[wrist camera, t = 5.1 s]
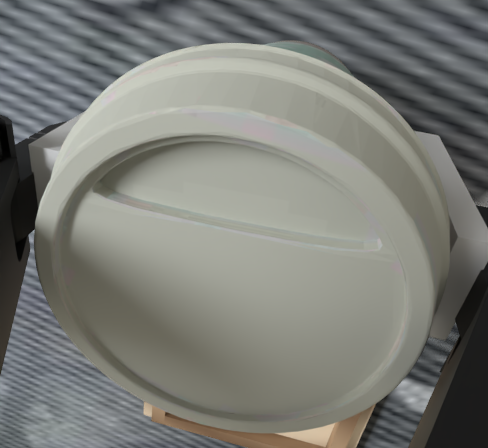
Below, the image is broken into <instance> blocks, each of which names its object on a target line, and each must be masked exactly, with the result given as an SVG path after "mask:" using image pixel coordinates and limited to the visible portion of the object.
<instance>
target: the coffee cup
mask: <svg viewBox="0 0 488 448" xmlns="http://www.w3.org/2000/svg"><path fill="white" fill-rule="evenodd" d="M34 251H35V260H36V267H37V271H38V276H39V280H40V283H41V286H42V289H43V292H44V294H45V297H46V299H47V301H48V304H49V306H50V308H51V310H52V312H53V313H54V315H55V317H56V319H57V320H58V322H59V324H60V326H61V327H62V328H63V330H64V331H65V333H66V334H67V335H68V337H69V338H70V339H71V341H72V342H73V343H74V345H75V346H76V347H77V348H78V349H79V350H80V351H81V353H82V354H83V355H84V356H85V357H86V358H87V359H88V360H89V361H90V362H91V363H92V364H93V365H94V366H96V367H97V368H98V369H99V370H100V371H101V372H102V373H104V374H105V375H106V376H107V377H108V378H109V379H111V380H112V381H114V382H115V383H116V384H118V385H119V386H121V387H122V388H124V389H125V390H127V391H128V392H129V393H131V394H133V395H135V396H136V397H138V398H140V399H141V400H143V401H145V402H147V403H149V404H151V405H153V406H155V407H157V408H159V409H161V410H163V411H165V412H168V413H170V414H173V415H175V416H178V417H180V418H183V419H186V420H190V421H193V422H196V423H199V424H202V425H207V426H211V427H216V428H220V429H225V430H232V431H240V432H248V433H286V432H298V431H304V430H309V429H314V428H319V427H324V426H327V425H330V424H333V423H337V422H340V421H342V420H345V419H347V418H350V417H352V416H354V415H356V414H358V413H360V412H362V411H364V410H366V409H368V408H369V407H371V406H373V405H374V404H376V403H377V402H379V401H380V400H381V399H383V398H384V397H385V396H386V395H388V394H389V393H390V392H391V391H392V390H394V389H395V388H396V387H397V386H398V385H399V384H400V383H401V381H402V380H403V379H404V378H405V377H406V376H407V375H408V374H409V373H410V371H411V370H412V368H413V367H414V365H415V363H416V362H417V360H418V359H419V357H420V355H421V354H422V352H423V350H424V347H425V345H426V342H427V340H428V337H429V335H430V330H431V326H432V322H433V318H434V316H435V314H436V312H437V310H438V307H439V305H440V302H441V300H442V297H443V294H444V291H445V287H446V283H447V278H448V272H449V265H450V222H449V212H448V206H447V201H446V196H445V193H444V189H443V186H442V183H441V180H440V177H439V174H438V172H437V170H436V167H435V165H434V163H433V161H432V159H431V157H430V155H429V153H428V152H427V150H426V148H425V147H424V145H423V144H422V142H421V140H420V139H419V138H418V136H417V135H416V133H415V132H414V131H413V129H412V128H411V127H410V126H409V124H408V123H407V122H406V121H405V120H404V119H403V117H402V116H401V115H400V114H399V113H398V112H397V111H396V110H395V109H394V108H393V107H392V106H391V105H390V104H389V103H387V102H386V101H385V100H384V99H383V98H382V97H381V96H379V95H378V94H377V93H376V92H374V91H373V90H372V89H370V88H369V87H368V86H366V85H365V84H363V83H362V82H360V81H359V80H357V79H356V78H354V76H353V75H352V74H351V73H350V71H349V70H348V69H347V67H346V66H345V65H344V64H343V63H342V62H341V61H340V60H339V59H338V58H337V57H336V56H334V55H333V54H332V53H330V52H329V51H327V50H325V49H323V48H321V47H319V46H317V45H314V44H311V43H307V42H302V41H279V42H274V43H269V44H265V45H258V44H246V43H219V44H208V45H200V46H194V47H189V48H185V49H180V50H177V51H173V52H170V53H167V54H164V55H161V56H159V57H156V58H154V59H151V60H149V61H147V62H145V63H143V64H141V65H139V66H137V67H135V68H134V69H132V70H130V71H129V72H127V73H126V74H124V75H123V76H121V77H120V78H119V79H117V80H116V81H115V82H113V83H112V84H111V85H110V86H109V87H108V88H106V89H105V90H104V91H103V92H102V93H101V94H100V95H99V96H98V97H97V98H96V99H95V101H94V102H93V103H92V104H91V105H90V107H89V108H88V109H87V110H86V112H85V113H84V114H83V115H82V116H81V117H80V118H79V120H78V121H77V122H76V124H75V125H74V126H73V128H72V129H71V131H70V132H69V134H68V135H67V137H66V139H65V141H64V143H63V145H62V147H61V149H60V151H59V154H58V156H57V158H56V161H55V163H54V167H53V171H52V175H51V179H50V181H49V183H48V185H47V187H46V189H45V192H44V194H43V196H42V199H41V201H40V205H39V209H38V213H37V217H36V221H35V234H34Z"/></svg>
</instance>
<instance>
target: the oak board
mask: <svg viewBox="0 0 488 448" xmlns="http://www.w3.org/2000/svg"><path fill="white" fill-rule="evenodd" d="M375 405H376V404H374V405H373V406H371V407H369V408H368V409H366V410H364V411H362V412H360V413H358V414H356V415H354V416H352V417H350V418H347V419H345V420H342V421H340V422H337V423H333V424H330V425H327V426H324V427H319V428H314V429H309V430H304V431H298V432H286V433H248V432H240V431H232V430H225V429H220V428H216V427H211V426H207V425H202V424H199V423H196V422H193V421H190V420H186V419H183V418H180V417H178V416H175V415H173V414H170V413H168V412H165V411H163V410H161V409H159V408H157V407H155V406H153V405H151V404H149V403H147V402H145V401H144V415H147V416H151V417H152V420H151V421H153V422H157V423H161V424H164V425H168V426H171V427H175V428H179V429H182V430H186V431H190V432H193V433H197V434H201V435H204V436H208V437H211V438H215V439H219V440H222V441H226V442H230V443H233V444H237V445H240V446H244V447H248V448H356V446H357V444H358V442H359V440H360V438H361V435H362V433H363V431H364V429H365V427H366V424H367V422H368V420H369V418H370V416H371V414H372V411H373V409H374V407H375Z"/></svg>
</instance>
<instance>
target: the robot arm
mask: <svg viewBox="0 0 488 448" xmlns="http://www.w3.org/2000/svg"><path fill="white" fill-rule="evenodd" d="M85 112H86V111H85ZM85 112H83V113H82V114H80V115H78V116H76V117H75V118H73V119H71V120H70V121H68V122H62V123H58V124H54V125H50V126H48V127H46V128H44V129H43V130H41V131H39V132H38V133H35V134H34V135H32V136H30V137H29V139H28V138H27V139H25V140H23V141H21V142H19V143H18V144H16V145H15V141H14V135H13V128H12V121H11V120H10V119H9V118H7V117H5V116H2V115H0V374H1V370H2V366H3V362H4V357H5V353H6V349H7V345H8V341H9V336H10V332H11V328H12V324H13V320H14V315H15V311H16V307H17V303H18V299H19V294H20V290H21V286H22V282H23V278H24V273H25V269H26V265H27V261H28V257H29V252H30V244H29V237H28V234H30V233H31V232H32V231H33V230H34V229H35V221H36V217H37V213H38V209H39V205H40V201H41V199H42V196H43V194H44V192H45V189H46V187H47V185H48V183H49V181H50V179H51V175H52V171H53V167H54V163H55V161H56V158H57V156H58V154H59V151H60V149H61V147H62V145H63V143H64V141H65V139H66V137H67V135H68V134H69V132H70V131H71V129H72V128H73V126H74V125H75V124H76V122H77V121H78V120H79V118H80V117H81V116H82V115H83V114H84V113H85ZM415 133H416V135H417V136H418V138H419V139H420V140H421V142H422V144H423V145H424V147H425V148H426V150H427V152H428V153H429V155H430V157H431V159H432V161H433V163H434V165H435V167H436V170H437V172H438V174H439V177H440V180H441V183H442V186H443V189H444V193H445V196H446V201H447V206H448V212H449V222H450V265H449V272H448V278H447V283H446V287H445V291H444V294H443V297H442V300H441V302H440V305H439V307H438V310H437V312H436V314H435V316H434V318H433V322H432V326H431V330H430V335H429V336H430V337H434V338H438V339H442V340H446V339H447V337H448V335H449V333H450V331H451V329H452V327H453V325H454V324H455V322H456V324H457V327H458V331H459V334H460V336H459V338H458V340H457V341H456V343H455V345H454V347H453V349H452V350H451V352H450V354H449V356H448V358H447V359H446V361H445V363H444V365H443V367H442V368H441V370H440V372H441V375H440V378H439V380H438V382H437V384H436V387H435V389H434V391H433V393H432V396H431V398H430V400H429V402H428V405H427V407H426V409H425V411H424V414H423V416H422V418H421V420H420V423H419V425H418V427H417V429H416V432H415V434H414V436H413V438H412V441H411V443H410V445H409V447H408V448H488V208H486V207H481V206H477V205H475V203H474V201H473V200H472V198H471V196H470V194H469V192H468V190H467V188H466V186H465V184H464V183H463V181H462V179H461V177H460V175H459V173H458V171H457V169H456V167H455V166H454V164H453V162H452V160H451V158H450V156H449V154H448V152H447V151H446V149H445V147H444V145H443V143H442V141H441V139H440V137H439V136H438V135H433V134H428V133H423V132H418V131H415Z"/></svg>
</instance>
